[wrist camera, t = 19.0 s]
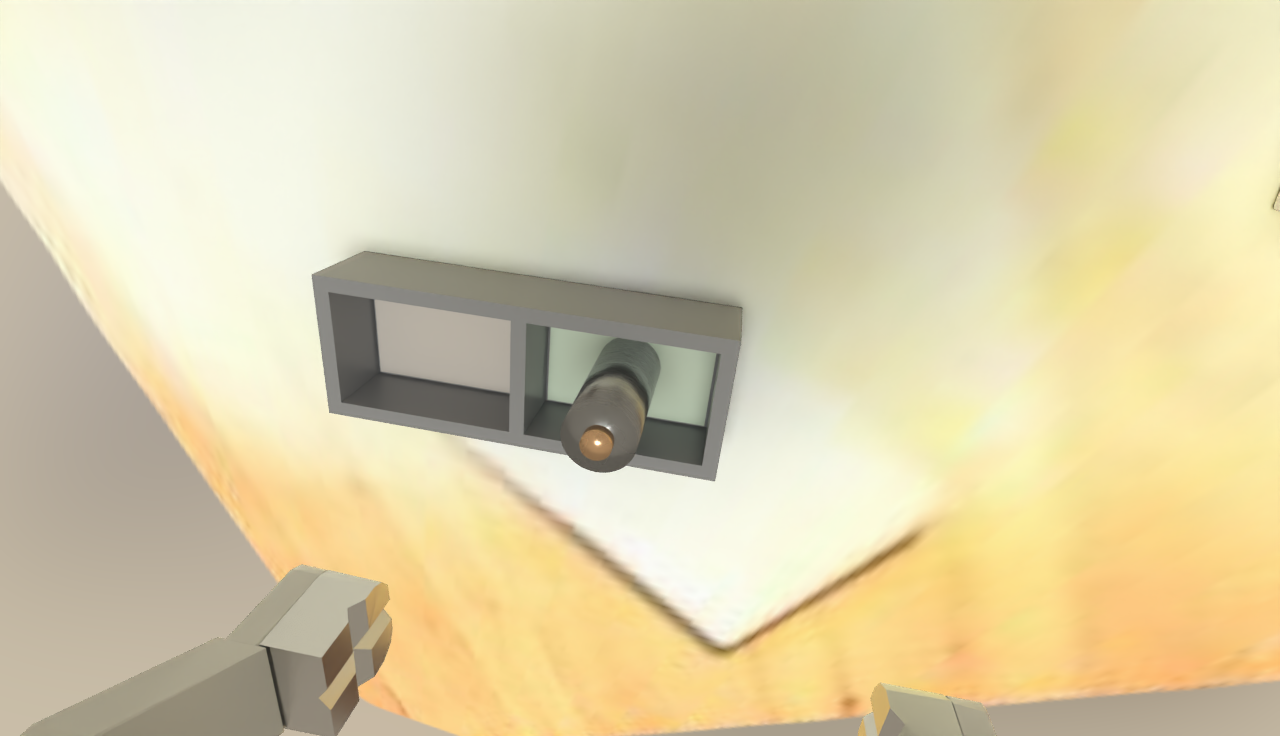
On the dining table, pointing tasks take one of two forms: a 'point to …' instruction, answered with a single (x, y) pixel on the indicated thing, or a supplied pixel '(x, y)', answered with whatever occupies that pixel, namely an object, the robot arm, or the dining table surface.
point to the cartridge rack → (517, 355)
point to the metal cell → (612, 406)
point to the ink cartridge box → (1277, 203)
